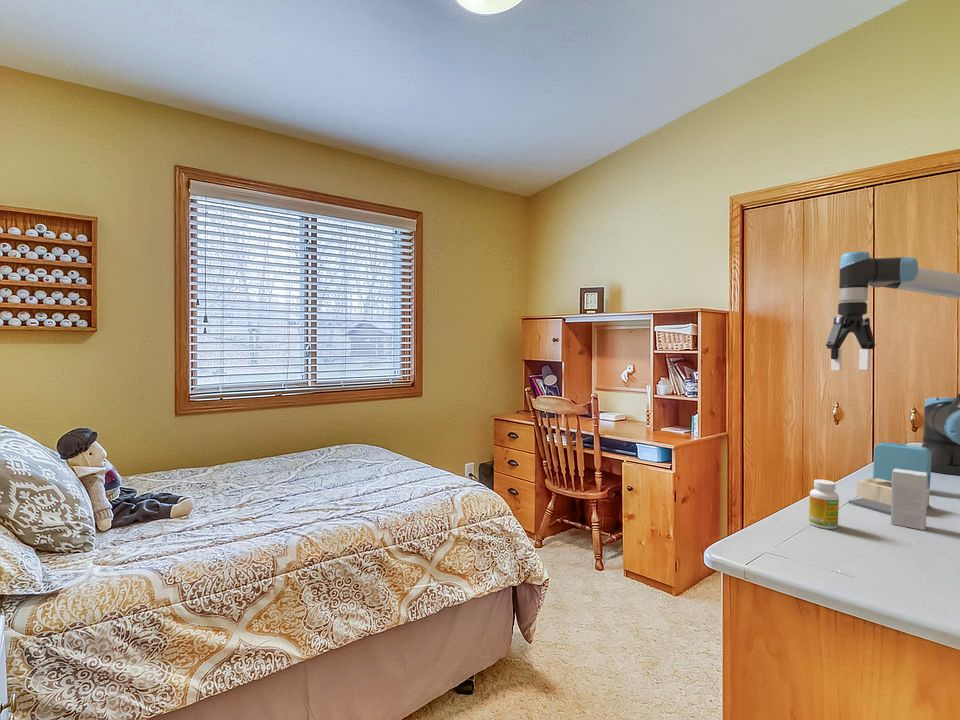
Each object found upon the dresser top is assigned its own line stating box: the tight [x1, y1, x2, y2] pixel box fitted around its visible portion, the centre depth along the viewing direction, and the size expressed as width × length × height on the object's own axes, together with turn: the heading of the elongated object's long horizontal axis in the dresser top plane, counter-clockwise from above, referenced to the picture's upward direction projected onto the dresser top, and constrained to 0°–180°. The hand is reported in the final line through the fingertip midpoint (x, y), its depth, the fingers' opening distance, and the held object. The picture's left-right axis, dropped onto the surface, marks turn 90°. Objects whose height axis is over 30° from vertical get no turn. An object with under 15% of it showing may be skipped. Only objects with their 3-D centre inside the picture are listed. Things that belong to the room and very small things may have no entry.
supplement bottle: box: [808, 479, 840, 530], centre depth 119 cm, size 5×5×10 cm
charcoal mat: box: [847, 497, 930, 516], centre depth 134 cm, size 16×10×1 cm, turn 113°
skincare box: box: [890, 469, 928, 531], centre depth 119 cm, size 6×4×12 cm
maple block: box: [856, 478, 931, 508], centre depth 135 cm, size 8×4×12 cm
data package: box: [872, 442, 932, 490], centre depth 149 cm, size 12×4×12 cm, turn 42°
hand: (850, 369), depth 170 cm, fingers open, 13 cm apart
